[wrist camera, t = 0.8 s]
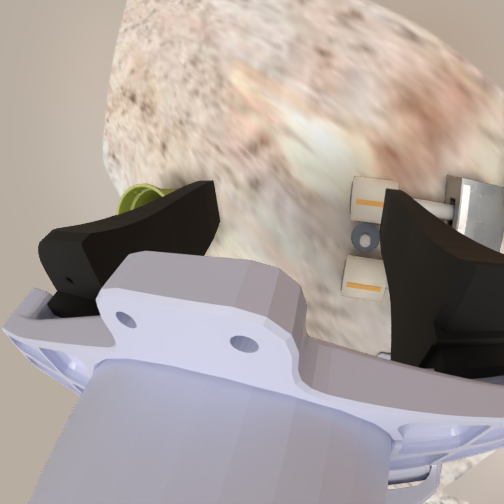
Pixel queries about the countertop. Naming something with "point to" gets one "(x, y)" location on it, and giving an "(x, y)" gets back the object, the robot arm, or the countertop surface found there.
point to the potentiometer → (365, 236)
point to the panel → (476, 210)
